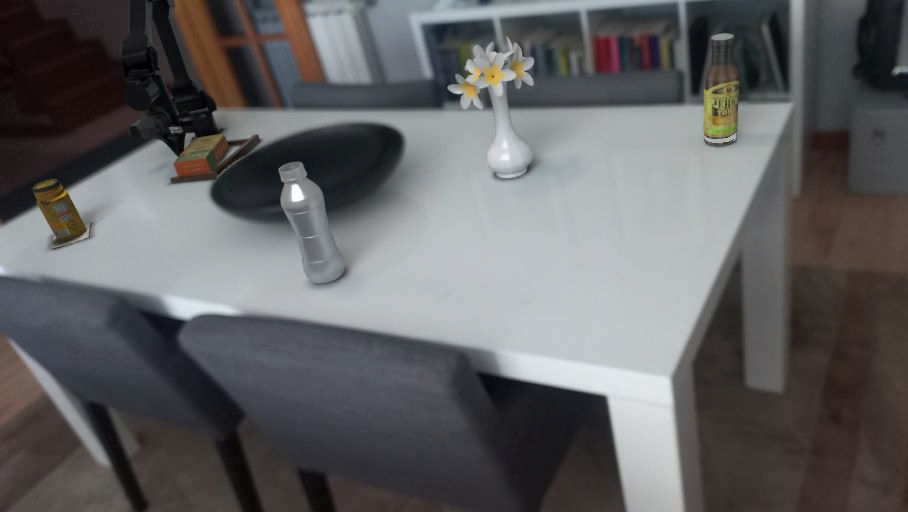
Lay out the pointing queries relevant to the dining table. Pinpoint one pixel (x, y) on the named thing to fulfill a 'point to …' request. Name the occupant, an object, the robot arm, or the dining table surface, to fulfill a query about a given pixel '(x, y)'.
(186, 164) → the carton
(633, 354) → the dining table surface
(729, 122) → the sauce bottle
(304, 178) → the plastic bottle
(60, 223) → the condiment
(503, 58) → the flower vase
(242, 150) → the frame
